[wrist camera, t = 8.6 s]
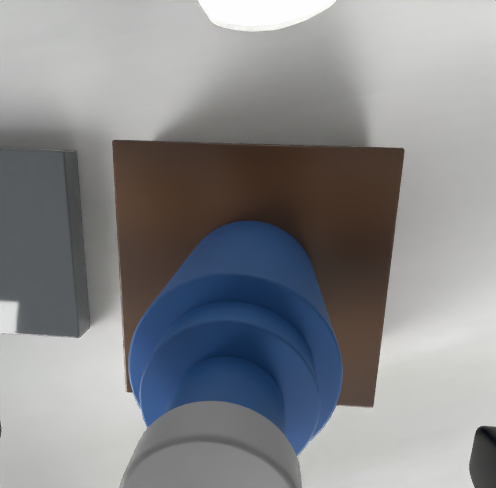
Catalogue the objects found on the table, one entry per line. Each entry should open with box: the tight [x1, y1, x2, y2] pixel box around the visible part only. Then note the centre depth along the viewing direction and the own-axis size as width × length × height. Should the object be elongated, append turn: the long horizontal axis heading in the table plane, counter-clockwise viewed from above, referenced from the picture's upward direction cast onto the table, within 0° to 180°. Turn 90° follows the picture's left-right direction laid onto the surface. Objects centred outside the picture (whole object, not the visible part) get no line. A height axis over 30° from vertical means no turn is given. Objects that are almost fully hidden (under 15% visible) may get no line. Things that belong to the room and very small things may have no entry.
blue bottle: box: [120, 221, 343, 488], centre depth 10 cm, size 5×5×9 cm
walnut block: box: [112, 140, 404, 408], centre depth 17 cm, size 10×10×4 cm
